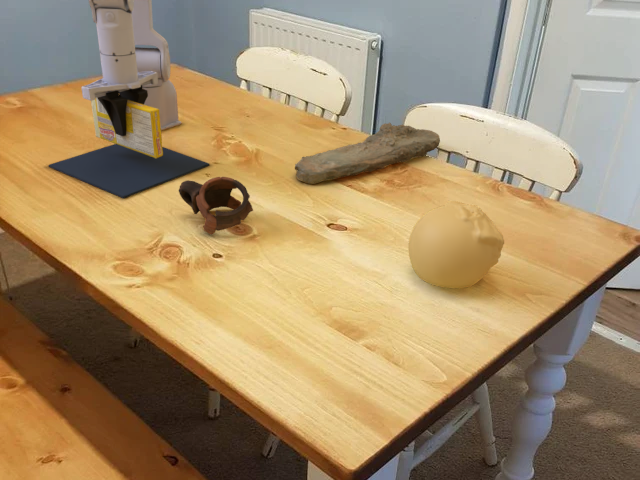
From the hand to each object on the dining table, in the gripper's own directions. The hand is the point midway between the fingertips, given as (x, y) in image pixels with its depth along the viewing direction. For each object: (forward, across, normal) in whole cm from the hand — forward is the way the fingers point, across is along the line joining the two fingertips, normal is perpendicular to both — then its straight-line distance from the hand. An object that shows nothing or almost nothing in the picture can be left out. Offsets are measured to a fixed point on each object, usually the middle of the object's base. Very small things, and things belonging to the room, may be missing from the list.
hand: (126, 132), depth 121 cm
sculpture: (+6, +3, -63) cm, 63 cm away
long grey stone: (+6, +32, -31) cm, 45 cm away
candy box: (+3, 0, 0) cm, 3 cm away
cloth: (+6, 0, 0) cm, 6 cm away
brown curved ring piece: (+6, -6, -27) cm, 28 cm away
